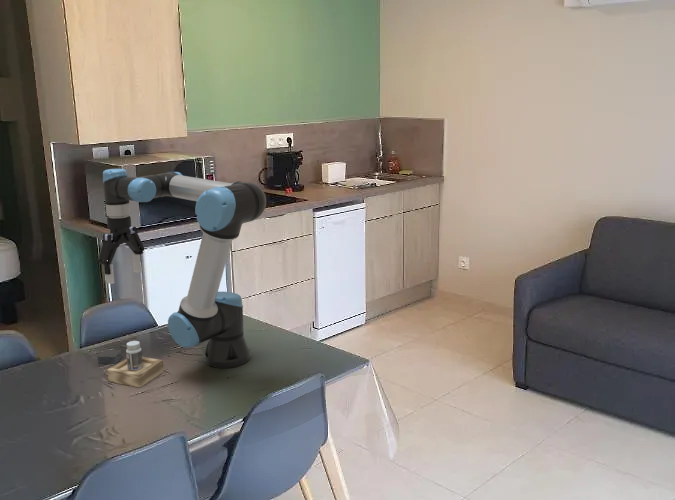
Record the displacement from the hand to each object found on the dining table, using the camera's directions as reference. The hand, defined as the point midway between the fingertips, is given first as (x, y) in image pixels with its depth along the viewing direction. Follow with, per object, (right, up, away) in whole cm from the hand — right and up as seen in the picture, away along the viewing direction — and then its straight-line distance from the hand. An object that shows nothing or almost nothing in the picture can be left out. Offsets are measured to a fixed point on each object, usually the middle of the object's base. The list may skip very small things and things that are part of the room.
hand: (124, 277), depth 218 cm
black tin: (-4, -28, -1) cm, 28 cm away
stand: (+8, -31, -13) cm, 35 cm away
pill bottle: (+8, -28, -14) cm, 32 cm away
